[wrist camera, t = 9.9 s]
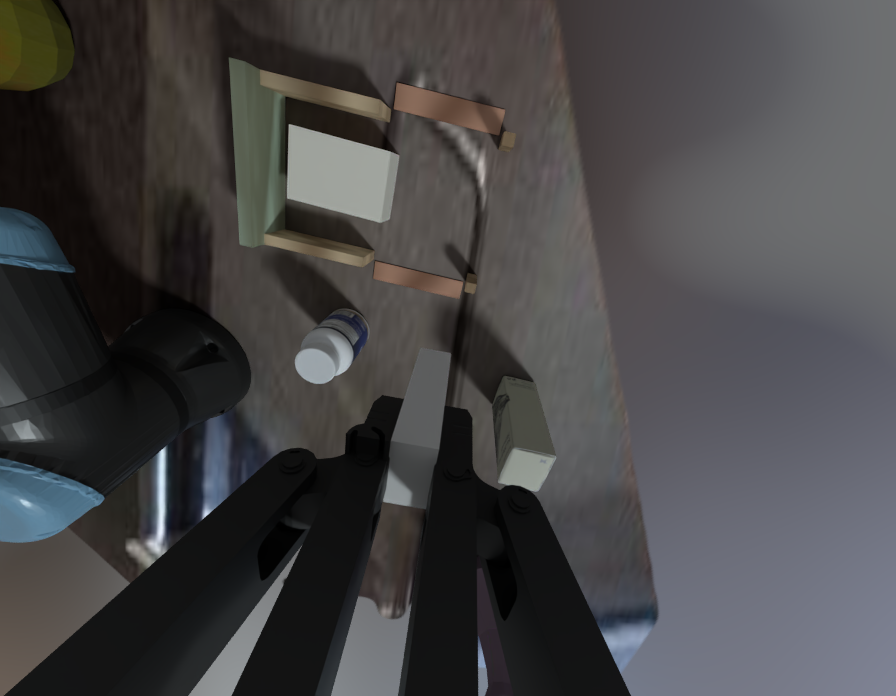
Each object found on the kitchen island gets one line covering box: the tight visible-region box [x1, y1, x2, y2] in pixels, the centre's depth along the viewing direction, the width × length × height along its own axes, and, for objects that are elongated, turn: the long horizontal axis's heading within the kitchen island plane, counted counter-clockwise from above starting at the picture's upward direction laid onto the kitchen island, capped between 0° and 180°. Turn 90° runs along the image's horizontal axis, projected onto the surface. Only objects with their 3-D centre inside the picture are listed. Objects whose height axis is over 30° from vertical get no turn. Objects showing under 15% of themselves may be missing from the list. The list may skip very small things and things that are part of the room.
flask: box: [477, 556, 514, 696], centre depth 50 cm, size 16×16×20 cm
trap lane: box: [229, 57, 516, 299], centre depth 31 cm, size 23×18×6 cm
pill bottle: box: [295, 309, 369, 384], centre depth 37 cm, size 5×5×10 cm
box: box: [492, 376, 556, 492], centre depth 38 cm, size 5×4×13 cm
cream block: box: [287, 124, 399, 223], centre depth 32 cm, size 9×6×4 cm, turn 76°
